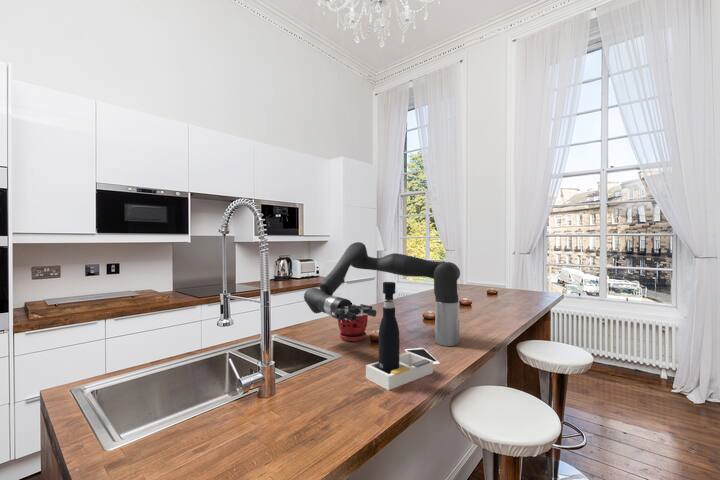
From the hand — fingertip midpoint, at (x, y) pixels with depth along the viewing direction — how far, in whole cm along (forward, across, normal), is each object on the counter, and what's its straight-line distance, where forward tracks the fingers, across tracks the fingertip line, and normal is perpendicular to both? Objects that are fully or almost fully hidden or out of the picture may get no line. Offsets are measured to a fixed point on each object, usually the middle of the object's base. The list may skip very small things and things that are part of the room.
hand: (365, 315), depth 112 cm
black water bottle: (+11, 0, -18) cm, 21 cm away
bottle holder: (+11, -5, -18) cm, 22 cm away
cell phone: (+4, -23, -19) cm, 30 cm away
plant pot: (-29, -16, -18) cm, 37 cm away
